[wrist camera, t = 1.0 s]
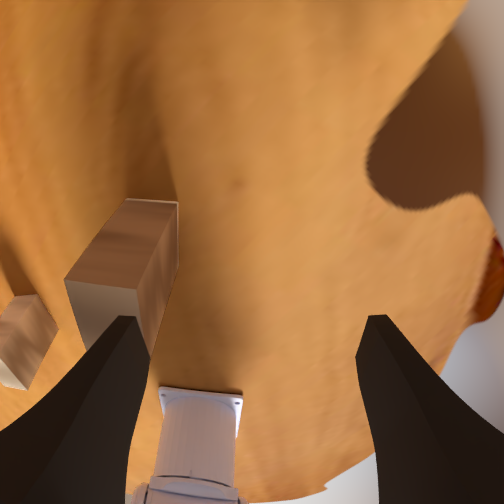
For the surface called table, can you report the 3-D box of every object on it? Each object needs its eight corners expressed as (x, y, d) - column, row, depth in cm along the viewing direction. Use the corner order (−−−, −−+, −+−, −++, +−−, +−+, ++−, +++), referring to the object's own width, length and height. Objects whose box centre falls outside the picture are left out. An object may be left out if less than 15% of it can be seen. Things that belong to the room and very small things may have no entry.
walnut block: (178, 266, 21) (149, 364, 14) (132, 261, 20) (87, 353, 14) (178, 201, 18) (136, 289, 11) (126, 198, 18) (63, 279, 11)
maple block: (58, 329, 24) (27, 390, 18) (35, 329, 25) (4, 386, 19) (37, 294, 22) (-2, 355, 16) (14, 296, 22) (-24, 352, 17)
